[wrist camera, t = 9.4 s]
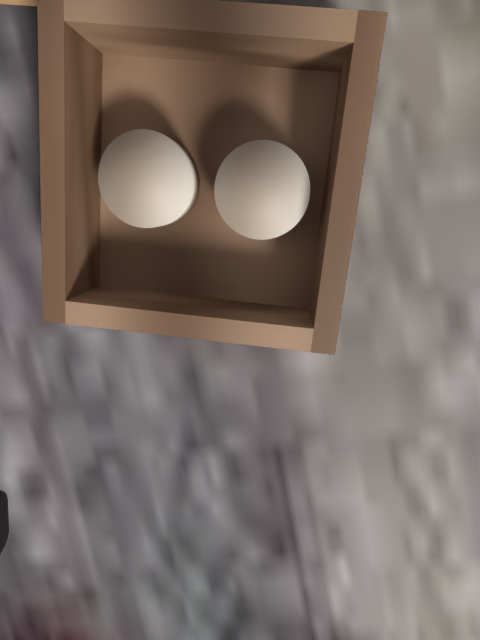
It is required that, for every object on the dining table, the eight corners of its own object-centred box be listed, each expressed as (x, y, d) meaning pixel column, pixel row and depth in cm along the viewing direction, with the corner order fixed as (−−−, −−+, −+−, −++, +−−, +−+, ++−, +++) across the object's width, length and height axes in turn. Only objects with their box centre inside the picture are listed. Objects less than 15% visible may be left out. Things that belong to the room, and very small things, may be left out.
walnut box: (362, 57, 16) (387, 12, 12) (323, 324, 19) (334, 354, 15) (92, 37, 17) (36, -13, 13) (89, 298, 19) (42, 321, 16)
